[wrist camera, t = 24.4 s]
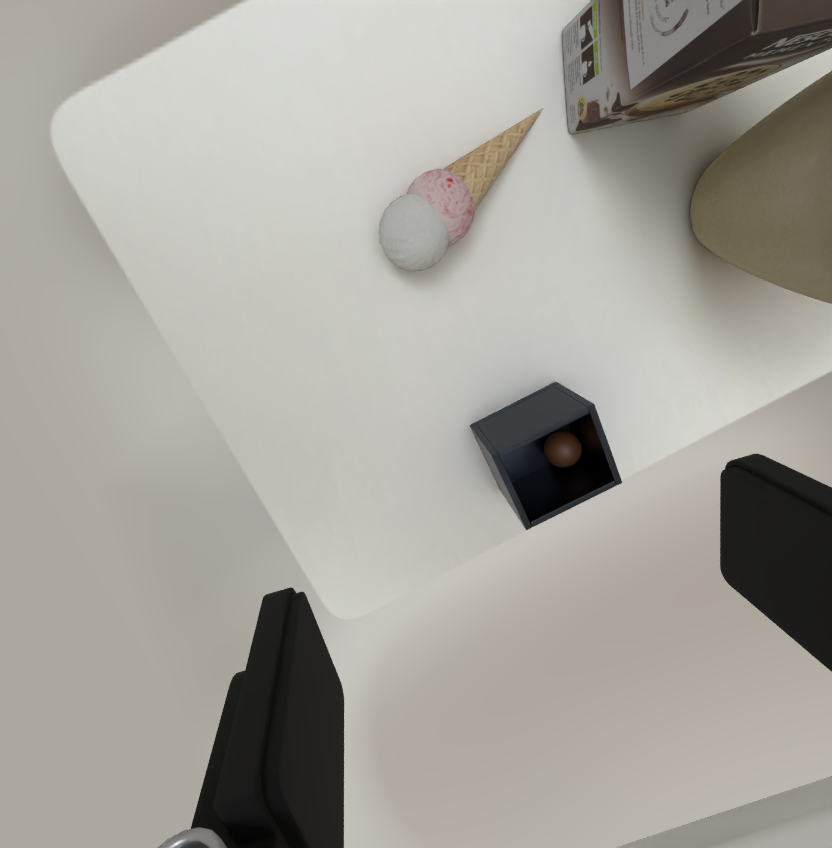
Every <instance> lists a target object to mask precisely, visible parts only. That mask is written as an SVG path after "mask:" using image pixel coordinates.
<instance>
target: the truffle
mask: <svg viewBox="0 0 832 848" xmlns="http://www.w3.org/2000/svg"><path fill="white" fill-rule="evenodd" d="M581 453H582V447H581V443H580V441H579V439H578V438H577V437H576V436H575V435H574V434H572V433H570V432H567V431H558V432H555V433H553V434H551V435H550V436H549V437H548V438H547V439H546V441H545V443H544V455H545V457H546V459H547V460H548V461H549V462H550V463H551V464H552V465H554V466H557V467H569V466H572V465H573V464H575V463H576V462H577V461H578V460H579V458H580V456H581Z"/></svg>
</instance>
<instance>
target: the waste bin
mask: <svg viewBox="0 0 832 848" xmlns="http://www.w3.org/2000/svg"><path fill="white" fill-rule="evenodd" d="M470 427H471V430H472V432H473V434H474V436H475V438H476V440H477V442H478V444H479V446H480V448H481V451H482V453H483V455H484V457H485V459H486V461H487V463H488V465H489V467H490V469H491V472H492V474H493V476H494V478H495V480H496V482H497V484H498V486H499V488H500V490H501V492H502V494H503V495H504V497H505V498H506V500H507V501H508V503H509V504H510V506H511V507H512V509H513V510H514V512H515V513H516V515H517V516H518V518H519V520H520V521H521V523H522V524H523V526H524V527H525V529H526V530H528V529H530V528H532V527H534V526H536V525H538V524H540V523H542V522H544V521H546V520H548V519H550V518H552V517H554V516H556V515H558V514H560V513H562V512H564V511H566V510H568V509H570V508H572V507H574V506H576V505H578V504H580V503H582V502H584V501H586V500H588V499H590V498H592V497H594V496H596V495H598V494H600V493H602V492H604V491H606V490H608V489H610V488H612V487H614V486H616V485H619V484H621V483H622V481H621V478H620V475H619V472H618V470H617V467H616V464H615V461H614V458H613V456H612V453H611V450H610V447H609V444H608V442H607V439H606V436H605V433H604V430H603V428H602V425H601V422H600V419H599V416H598V414H597V411H596V408H595V405H594V404H593V403H591V402H590V401H588V400H586V399H584V398H583V397H581V396H579V395H578V394H576V393H574V392H573V391H571V390H569V389H567V388H566V387H564V386H562V385H561V384H559V383H557V382H554V383H552V384H550V385H548V386H547V387H545V388H543V389H541V390H539V391H537V392H535V393H533V394H531V395H529V396H527V397H525V398H523V399H521V400H519V401H517V402H515V403H513V404H511V405H509V406H507V407H505V408H503V409H501V410H499V411H497V412H495V413H493V414H491V415H489V416H487V417H485V418H483V419H481V420H479V421H477V422H475V423H473V424H471V425H470ZM558 431H567V432H570V433H572V434H574V435H575V436H576V437H577V438H578V439H579V441H580V443H581V447H582V453H581V456H580V458H579V460H578V461H577V462H576V463H575V464H573V465H572V466H569V467H557V466H554V465H552V464H551V463H550V462H549V461H548V460H547V459H546V457H545V455H544V443H545V441H546V439H547V438H548V437H549V436H550V435H551V434H553V433H555V432H558Z"/></svg>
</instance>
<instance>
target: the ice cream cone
mask: <svg viewBox="0 0 832 848" xmlns="http://www.w3.org/2000/svg"><path fill="white" fill-rule="evenodd" d="M541 111H542V109H541V110H539V111H538V112H536V113H534V114H533V115H531V116H530V117H528V118H526V119H525V120H523V121H521V122H520V123H518V124H516V125H515V126H513V127H511V128H510V129H508V130H507V131H505V132H503V133H502V134H500V135H498V136H497V137H495V138H493V139H492V140H490V141H488V142H487V143H485V144H484V145H482V146H480V147H479V148H477V149H475V150H474V151H472V152H470V153H469V154H467V155H466V156H464V157H462V158H461V159H459V160H457V161H456V162H454V163H452V164H451V165H449V166H447V167H446V168H444V169H436V170H431V171H428V172H425V173H424V174H422V175H421V176H419V177H418V178H417V179H415V181H414V182H413V183H412V185H411V186H410V187H409V189H408V191H407V194H406V195H403V196H400V197H399V198H397V199H396V200H394V201H393V202H392V203H390V205H389V206H388V207H387V208H386V210H385V211H384V213H383V216H382V218H381V221H380V226H379V238H380V244H381V246H382V248H383V251H384V253H385V255H386V256H387V257H388V258H389V259H390V260H391V261H392V262H393V264H395V265H397V266H399V267H401V268H403V269H405V270H413V271H420V270H423V269H426V268H429V267H431V266H433V265H434V264H435V263H437V262H438V261H439V260H440V259H441V258H442V256H443V255H444V254H445V252H446V250H447V247H448V246H449V245H452V244H454V243H456V242H457V241H459V240H460V239H461V238H462V237H464V235H465V234H466V233H467V231H468V230H469V228H470V226H471V224H472V222H473V218H474V213H475V209H476V208H477V206H478V205H479V203H480V202H481V200H482V199H483V197H484V196H485V194H486V193H487V191H488V190H489V188H490V187H491V185H492V184H493V182H494V181H495V179H496V178H497V176H498V175H499V173H500V172H501V170H502V169H503V167H504V166H505V164H506V163H507V161H508V160H509V158H510V157H511V155H512V154H513V152H514V151H515V149H516V148H517V147H518V145H519V144H520V142H521V141H522V139H523V138H524V136H525V135H526V133H527V132H528V130H529V129H530V127H531V126H532V124H533V123H534V121H535V120H536V118H537V117H538V115H539V114H540V112H541Z"/></svg>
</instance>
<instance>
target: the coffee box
mask: <svg viewBox="0 0 832 848" xmlns="http://www.w3.org/2000/svg"><path fill="white" fill-rule="evenodd" d="M562 37H563V54H564V72H565V87H566V103H567V119H568V129H569V132H570V133H571V134H577V133H582V132H588V131H593V130H598V129H603V128H608V127H613V126H618V125H623V124H628V123H633V122H638V121H644V120H649V119H654V118H659V117H664V116H669V115H674V114H680V113H684V112H688V111H690V110H693V109H695V108H697V107H700V106H702V105H704V104H707V103H709V102H711V101H713V100H716V99H718V98H720V97H723V96H725V95H727V94H730V93H732V92H734V91H736V90H738V89H740V88H743V87H745V86H747V85H749V84H752V83H754V82H756V81H758V80H761V79H763V78H765V77H767V76H770V75H772V74H774V73H777V72H779V71H781V70H783V69H786V68H788V67H790V66H792V65H795V64H797V63H799V62H801V61H804V60H806V59H808V58H810V57H813V56H815V55H817V54H819V53H822V52H824V51H826V50H828V49H831V48H832V0H591V1H590V2H589V3H588V4H587V5H586V6H585V7H584V8H583V9H582V10H581V11H580V13H579V14H578V15H577V16H576V17H575V18H574V19H573V20H572V21H571V22H570V23H569V24H568V25H567V26H566V27H565V28H564V29H563V32H562Z"/></svg>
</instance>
